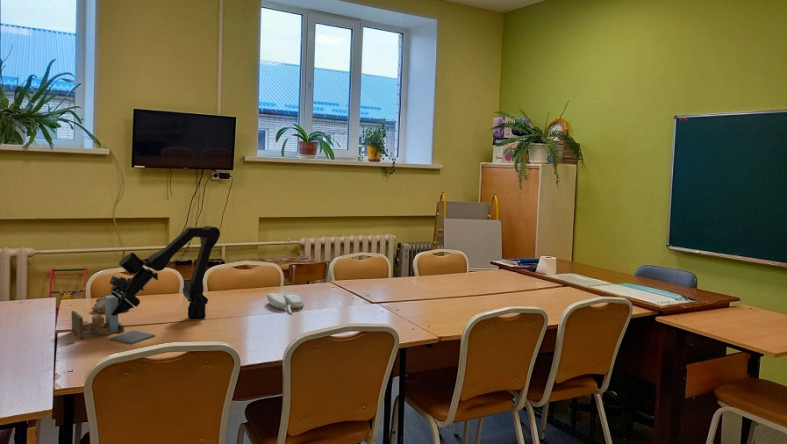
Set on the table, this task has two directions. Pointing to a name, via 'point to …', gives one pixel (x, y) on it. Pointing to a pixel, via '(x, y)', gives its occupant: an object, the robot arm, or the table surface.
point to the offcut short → (86, 326)
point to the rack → (78, 328)
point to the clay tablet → (101, 305)
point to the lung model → (285, 301)
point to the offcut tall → (98, 322)
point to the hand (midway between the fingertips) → (108, 312)
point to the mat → (132, 337)
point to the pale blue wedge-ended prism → (111, 320)
